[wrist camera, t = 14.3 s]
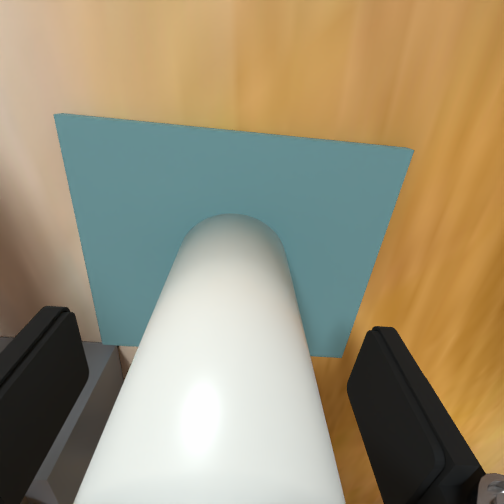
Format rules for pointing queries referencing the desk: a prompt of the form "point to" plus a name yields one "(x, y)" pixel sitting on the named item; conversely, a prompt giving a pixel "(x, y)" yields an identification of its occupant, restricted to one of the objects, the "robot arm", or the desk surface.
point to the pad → (226, 212)
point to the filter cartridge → (219, 386)
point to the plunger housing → (78, 428)
